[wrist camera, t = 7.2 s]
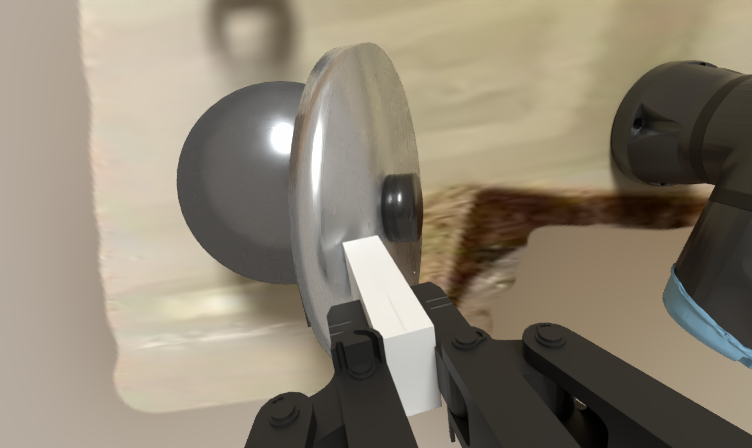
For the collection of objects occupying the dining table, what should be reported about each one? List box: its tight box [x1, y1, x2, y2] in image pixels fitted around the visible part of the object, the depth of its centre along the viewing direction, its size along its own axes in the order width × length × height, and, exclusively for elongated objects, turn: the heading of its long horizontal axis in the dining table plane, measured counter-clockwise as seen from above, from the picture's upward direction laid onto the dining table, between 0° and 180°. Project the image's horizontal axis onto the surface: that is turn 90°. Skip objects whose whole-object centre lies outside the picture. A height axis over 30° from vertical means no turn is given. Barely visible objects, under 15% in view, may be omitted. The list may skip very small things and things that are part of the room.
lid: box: [288, 42, 423, 358], centre depth 23 cm, size 18×18×3 cm
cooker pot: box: [177, 81, 311, 327], centre depth 36 cm, size 17×22×12 cm
